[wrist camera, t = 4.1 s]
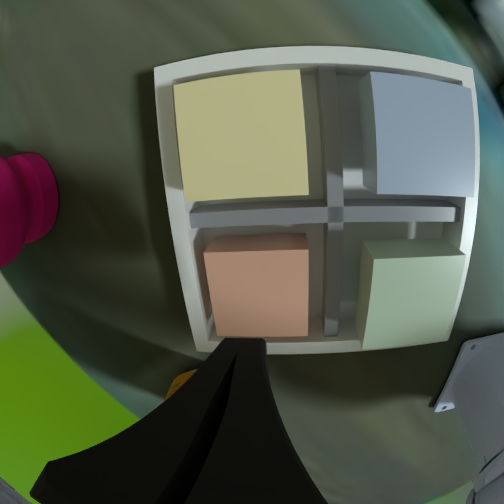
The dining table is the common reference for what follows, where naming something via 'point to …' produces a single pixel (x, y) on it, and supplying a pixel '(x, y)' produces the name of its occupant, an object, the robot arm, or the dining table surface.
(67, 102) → the dining table surface
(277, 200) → the keypad base
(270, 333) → the terracotta key
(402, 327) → the sage key
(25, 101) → the dining table surface
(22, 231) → the pepper mill
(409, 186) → the slate-blue key
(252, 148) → the mustard key
